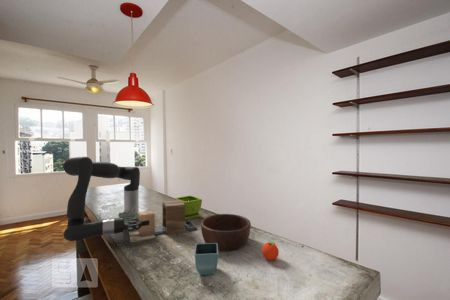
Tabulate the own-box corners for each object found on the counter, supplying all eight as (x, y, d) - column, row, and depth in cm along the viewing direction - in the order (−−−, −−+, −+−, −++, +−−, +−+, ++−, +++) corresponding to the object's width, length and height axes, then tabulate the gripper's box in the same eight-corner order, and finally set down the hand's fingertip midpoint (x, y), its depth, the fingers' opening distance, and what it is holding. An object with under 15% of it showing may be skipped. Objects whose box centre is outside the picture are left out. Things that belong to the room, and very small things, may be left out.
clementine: (267, 252, 96) (267, 237, 96) (282, 257, 92) (282, 241, 92) (259, 260, 90) (259, 243, 90) (274, 265, 85) (274, 248, 85)
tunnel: (162, 227, 125) (162, 201, 125) (179, 224, 129) (179, 199, 129) (166, 235, 114) (166, 206, 114) (184, 231, 119) (184, 204, 118)
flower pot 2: (195, 265, 86) (195, 243, 85) (217, 264, 86) (217, 242, 86) (194, 278, 77) (194, 254, 77) (218, 277, 78) (218, 253, 77)
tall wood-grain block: (137, 232, 116) (137, 212, 116) (165, 227, 123) (165, 208, 123) (139, 237, 110) (138, 216, 110) (168, 231, 117) (168, 212, 117)
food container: (128, 231, 119) (127, 213, 118) (118, 230, 120) (118, 213, 120) (140, 223, 131) (140, 207, 130) (132, 222, 132) (132, 206, 132)
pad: (128, 232, 118) (128, 231, 118) (151, 228, 123) (151, 228, 123) (130, 242, 105) (130, 242, 105) (155, 237, 111) (155, 237, 111)
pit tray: (182, 223, 130) (182, 221, 130) (190, 222, 133) (190, 220, 132) (188, 231, 120) (188, 228, 120) (196, 229, 122) (196, 226, 122)
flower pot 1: (184, 222, 133) (184, 202, 133) (173, 216, 144) (173, 197, 144) (202, 217, 143) (202, 198, 142) (191, 212, 153) (191, 194, 153)
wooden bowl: (255, 235, 114) (255, 216, 114) (243, 258, 91) (243, 235, 91) (212, 229, 123) (212, 211, 122) (191, 249, 99) (191, 227, 99)
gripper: (113, 223, 101) (150, 218, 109) (113, 214, 114) (146, 210, 122) (113, 239, 101) (150, 232, 109) (113, 228, 114) (146, 223, 122)
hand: (148, 221), depth 115 cm, fingers closed on tall wood-grain block, 5 cm apart
